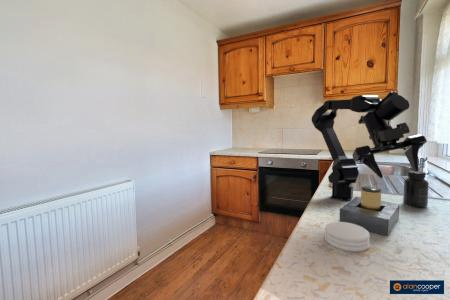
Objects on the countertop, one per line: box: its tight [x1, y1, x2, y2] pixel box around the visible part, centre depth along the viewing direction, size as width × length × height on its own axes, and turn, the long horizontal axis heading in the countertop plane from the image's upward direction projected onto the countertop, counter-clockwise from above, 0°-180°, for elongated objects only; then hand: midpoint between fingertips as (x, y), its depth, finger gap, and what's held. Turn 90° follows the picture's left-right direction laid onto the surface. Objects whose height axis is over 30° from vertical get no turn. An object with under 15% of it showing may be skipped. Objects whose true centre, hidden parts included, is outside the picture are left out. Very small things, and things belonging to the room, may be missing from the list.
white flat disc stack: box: [324, 221, 371, 253], centre depth 59 cm, size 10×10×4 cm
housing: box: [338, 196, 401, 237], centre depth 71 cm, size 12×16×4 cm
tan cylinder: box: [360, 186, 382, 212], centre depth 71 cm, size 5×5×10 cm
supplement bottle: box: [402, 170, 430, 209], centre depth 83 cm, size 7×7×12 cm
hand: (399, 174), depth 69 cm, fingers open, 9 cm apart
